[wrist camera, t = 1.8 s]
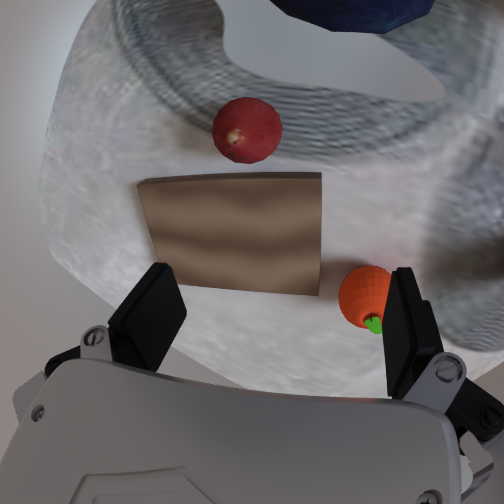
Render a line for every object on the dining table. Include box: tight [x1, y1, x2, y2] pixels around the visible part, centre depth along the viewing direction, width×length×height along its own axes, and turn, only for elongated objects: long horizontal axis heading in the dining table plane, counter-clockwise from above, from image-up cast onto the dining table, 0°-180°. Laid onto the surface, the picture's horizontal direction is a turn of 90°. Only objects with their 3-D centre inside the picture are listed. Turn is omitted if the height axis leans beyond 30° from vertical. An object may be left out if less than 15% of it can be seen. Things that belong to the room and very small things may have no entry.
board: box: [137, 172, 322, 296], centre depth 32 cm, size 14×20×2 cm
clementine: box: [339, 266, 391, 334], centre depth 30 cm, size 8×7×7 cm
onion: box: [212, 97, 282, 164], centre depth 22 cm, size 6×6×8 cm
